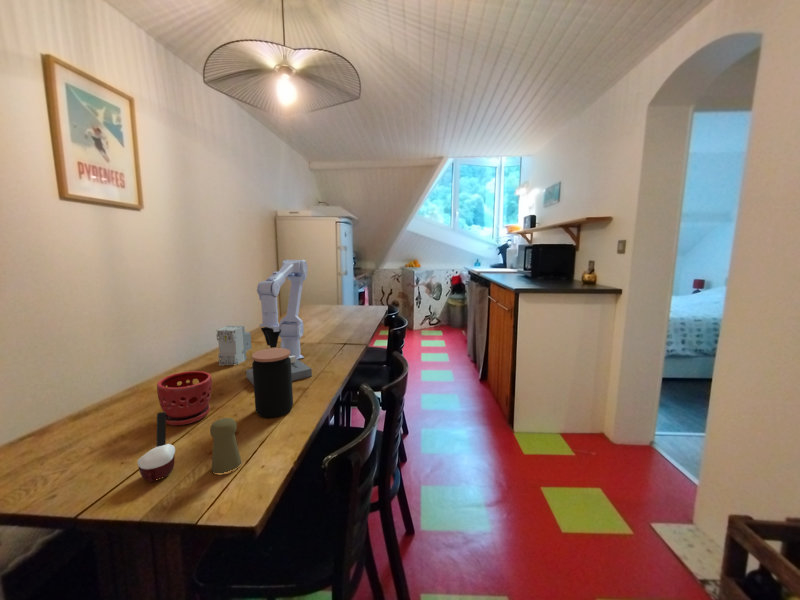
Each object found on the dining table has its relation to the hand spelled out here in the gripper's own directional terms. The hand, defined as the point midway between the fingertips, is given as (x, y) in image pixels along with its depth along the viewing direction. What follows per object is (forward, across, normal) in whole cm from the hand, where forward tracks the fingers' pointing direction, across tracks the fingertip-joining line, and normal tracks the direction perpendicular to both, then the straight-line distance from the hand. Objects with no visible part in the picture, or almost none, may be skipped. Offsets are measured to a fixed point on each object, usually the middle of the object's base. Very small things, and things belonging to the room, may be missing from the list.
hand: (271, 346), depth 132 cm
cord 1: (+11, -4, -6) cm, 13 cm away
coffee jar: (+11, +33, -10) cm, 36 cm away
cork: (+11, +53, -27) cm, 60 cm away
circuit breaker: (+11, -24, -8) cm, 27 cm away
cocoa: (+11, +47, -39) cm, 62 cm away
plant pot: (+11, +22, -31) cm, 39 cm away
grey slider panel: (+10, +7, 0) cm, 13 cm away
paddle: (+7, +4, +6) cm, 10 cm away
